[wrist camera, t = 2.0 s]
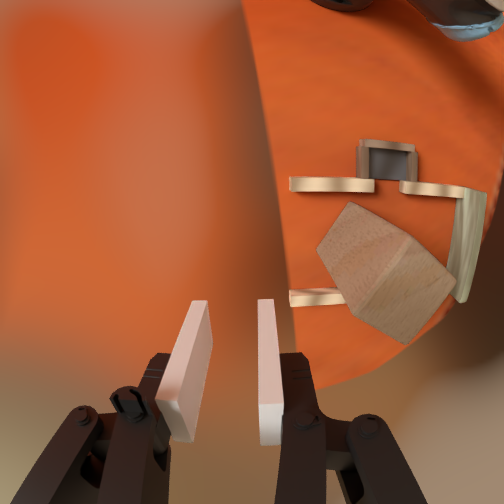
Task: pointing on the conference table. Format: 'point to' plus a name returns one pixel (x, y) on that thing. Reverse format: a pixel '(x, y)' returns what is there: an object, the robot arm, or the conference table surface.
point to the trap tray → (405, 169)
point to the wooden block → (384, 273)
